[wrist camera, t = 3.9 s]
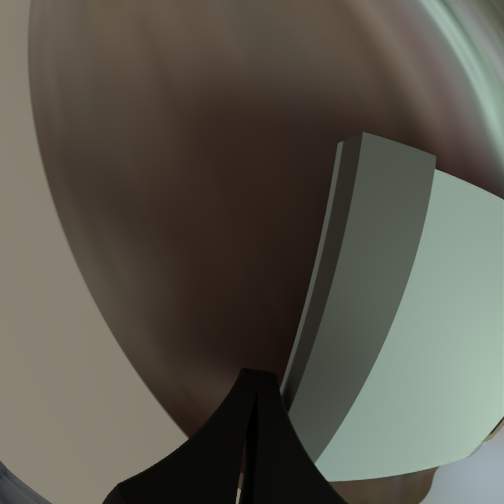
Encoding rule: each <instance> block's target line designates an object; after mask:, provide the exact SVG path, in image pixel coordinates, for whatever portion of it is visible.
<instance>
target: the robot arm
mask: <svg viewBox="0 0 504 504" xmlns="http://www.w3.org/2000/svg"><path fill="white" fill-rule="evenodd" d="M245 436H246V443H245V460H244V474H243V482H242V488H241V493H240V499H239V504H348V503H347V502H346V501H345V500H344V499H343V498H342V497H341V496H340V495H339V494H338V493H337V492H336V491H335V489H334V488H333V487H332V486H331V485H330V484H329V482H328V481H327V480H326V479H325V477H324V476H323V475H322V474H321V472H320V471H319V470H318V468H317V467H316V466H315V464H314V463H313V461H312V460H311V458H310V457H309V455H308V453H307V452H306V450H305V448H304V447H303V445H302V443H301V441H300V439H299V437H298V435H297V433H296V431H295V429H294V427H293V425H292V423H291V420H290V418H289V415H288V413H287V410H286V408H285V405H284V402H283V399H282V396H281V393H280V389H279V385H278V380H277V375H276V374H275V373H272V372H265V371H259V370H253V369H247V368H243V369H241V370H240V373H239V375H238V378H237V380H236V382H235V384H234V385H233V387H232V389H231V390H230V392H229V393H228V395H227V396H226V398H225V399H224V401H223V402H222V403H221V405H220V406H219V407H218V409H217V410H216V411H215V412H214V413H213V415H212V416H211V417H210V418H209V419H208V420H207V422H206V423H205V424H204V425H203V426H202V427H201V428H200V429H199V430H198V431H197V432H196V433H195V434H194V435H193V436H192V437H191V438H189V439H188V440H187V441H186V442H185V443H184V444H182V445H181V446H180V447H179V448H178V449H176V450H175V451H174V452H172V453H171V454H170V455H168V456H167V457H166V458H164V459H162V460H161V461H159V462H158V463H156V464H154V465H153V466H151V467H150V468H148V469H146V470H145V471H143V472H141V473H139V474H137V475H135V476H133V477H131V478H129V479H127V480H125V481H123V482H120V483H119V484H117V486H115V488H114V489H113V490H112V491H111V492H110V493H109V494H108V496H107V497H106V498H105V500H104V502H103V503H102V504H236V497H237V490H238V483H239V476H240V469H241V462H242V455H243V448H244V442H245ZM0 504H52V503H50V502H49V501H47V500H46V499H44V498H43V497H41V496H40V495H39V494H38V493H36V492H35V491H34V490H32V489H31V488H30V487H28V486H27V485H26V484H25V483H23V482H22V481H21V480H20V479H18V478H17V477H16V476H15V475H14V474H13V473H11V472H10V471H9V470H8V469H7V468H6V467H5V465H4V464H3V463H2V462H1V461H0Z"/></svg>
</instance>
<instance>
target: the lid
mask: <svg viewBox="0 0 504 504" xmlns="http://www.w3.org/2000/svg"><path fill="white" fill-rule="evenodd" d="M436 157H437V156H434V155H432V154H429V153H427V152H424V151H421V150H419V149H416V148H413V147H410V146H407V145H405V144H402V143H399V142H396V141H393V140H389V139H386V138H383V137H380V136H376V135H373V134H369V133H366V132H361V133H359V134H357V135H355V136H352V137H350V138H348V139H346V140H344V141H342V142H340V143H338V146H337V152H336V158H335V165H334V170H333V176H332V182H331V187H330V193H329V198H328V203H327V209H326V214H325V219H324V223H323V228H322V233H321V238H320V242H319V247H318V251H317V256H316V260H315V264H314V269H313V273H312V277H311V281H310V285H309V289H308V293H307V297H306V301H305V305H304V309H303V312H302V316H301V320H300V323H299V327H298V331H297V334H296V338H295V341H294V345H293V348H292V352H291V355H290V358H289V362H288V365H287V368H286V371H285V375H284V378H283V381H282V384H281V387H280V393H281V396H282V399H283V402H284V405H285V408H286V410H287V413H288V415H289V418H290V420H291V423H292V425H293V427H294V429H295V431H296V433H297V435H298V437H299V439H300V441H301V443H302V445H303V447H304V448H305V450H306V452H307V453H308V455H309V457H310V458H311V460H312V461H313V463H314V464H315V466H316V467H317V468H318V470H319V471H320V472H321V474H322V475H323V476H324V477H325V479H326V480H327V481H348V480H361V479H371V478H380V477H387V476H394V475H400V474H405V473H411V472H415V471H420V470H425V469H429V468H433V467H437V466H440V465H444V464H447V463H451V462H454V461H457V460H461V459H464V458H466V457H467V456H468V455H469V454H470V453H471V452H472V451H473V450H474V449H475V448H476V447H477V446H478V445H479V444H480V443H481V442H482V441H483V440H484V439H485V438H486V437H487V435H488V434H489V433H490V432H491V431H492V430H493V429H494V427H495V426H496V425H497V424H498V423H499V421H500V420H501V419H502V418H503V416H504V200H503V199H501V198H499V197H497V196H495V195H493V194H491V193H489V192H487V191H485V190H483V189H481V188H479V187H477V186H475V185H472V184H470V183H468V182H466V181H463V180H461V179H459V178H456V177H454V176H452V175H449V174H447V173H444V172H442V171H439V170H436V169H435V165H436Z"/></svg>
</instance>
